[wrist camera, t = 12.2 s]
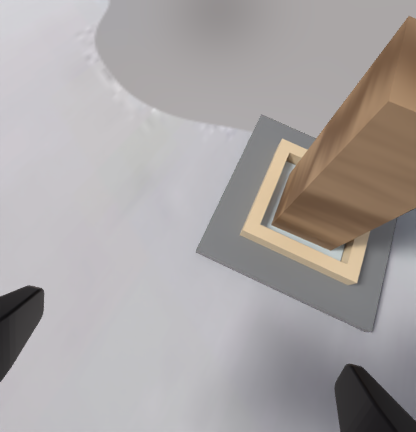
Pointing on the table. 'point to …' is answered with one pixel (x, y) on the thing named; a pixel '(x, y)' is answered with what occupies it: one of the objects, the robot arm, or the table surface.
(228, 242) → the gray square base plate
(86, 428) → the table surface
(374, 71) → the walnut column
